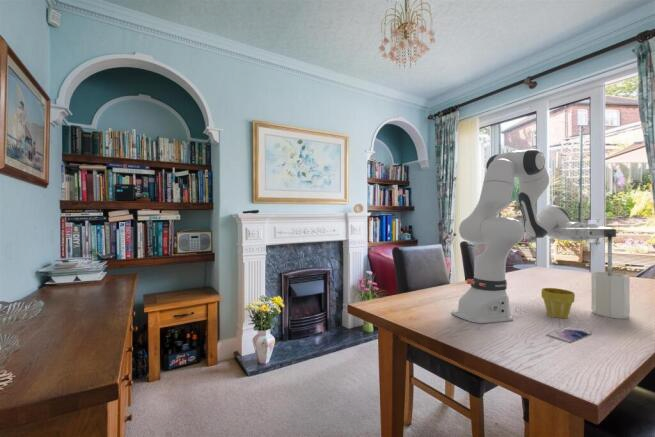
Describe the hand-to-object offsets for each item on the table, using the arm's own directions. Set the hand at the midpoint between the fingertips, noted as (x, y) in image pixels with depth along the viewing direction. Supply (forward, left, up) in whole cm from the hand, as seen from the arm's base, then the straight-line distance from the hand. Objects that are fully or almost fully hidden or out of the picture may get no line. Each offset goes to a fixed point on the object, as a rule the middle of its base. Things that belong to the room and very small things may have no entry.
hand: (602, 233), depth 122 cm
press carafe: (0, -3, -32) cm, 32 cm away
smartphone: (-39, -8, -33) cm, 52 cm away
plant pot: (-21, +5, -33) cm, 39 cm away
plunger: (-1, -3, -20) cm, 20 cm away
